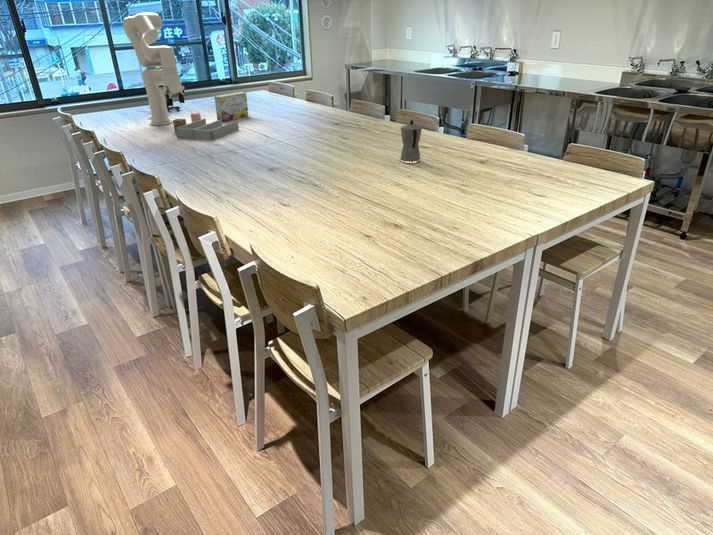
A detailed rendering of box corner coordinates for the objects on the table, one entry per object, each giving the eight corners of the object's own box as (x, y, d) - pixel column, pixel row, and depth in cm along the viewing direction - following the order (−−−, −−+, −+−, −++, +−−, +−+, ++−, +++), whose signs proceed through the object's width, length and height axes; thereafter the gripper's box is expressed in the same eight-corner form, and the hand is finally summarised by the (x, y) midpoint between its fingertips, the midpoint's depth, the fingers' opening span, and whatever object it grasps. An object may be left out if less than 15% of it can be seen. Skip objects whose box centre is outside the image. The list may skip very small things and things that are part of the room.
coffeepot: (397, 157, 226) (398, 117, 217) (417, 156, 226) (419, 116, 218) (403, 167, 212) (404, 125, 204) (424, 166, 213) (426, 124, 204)
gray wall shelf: (177, 137, 268) (175, 128, 265) (205, 127, 289) (204, 118, 287) (212, 140, 261) (211, 130, 258) (238, 129, 282) (237, 120, 280)
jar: (190, 127, 290) (188, 113, 286) (196, 125, 295) (194, 111, 291) (198, 127, 288) (196, 114, 285) (204, 125, 293) (202, 112, 289)
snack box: (223, 122, 300) (219, 96, 293) (217, 121, 303) (213, 96, 296) (249, 116, 315) (246, 91, 308) (243, 115, 318) (240, 91, 311)
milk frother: (155, 110, 341) (150, 87, 334) (178, 107, 346) (174, 85, 339) (157, 113, 329) (152, 90, 322) (181, 111, 335) (177, 88, 328)
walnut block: (174, 132, 278) (172, 120, 275) (180, 130, 282) (178, 118, 279) (182, 133, 276) (179, 120, 273) (187, 131, 280) (185, 119, 277)
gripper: (174, 69, 272) (180, 101, 280) (153, 73, 258) (160, 106, 266) (186, 69, 270) (191, 102, 277) (165, 73, 255) (171, 107, 263)
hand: (176, 104), depth 271 cm, fingers open, 9 cm apart
